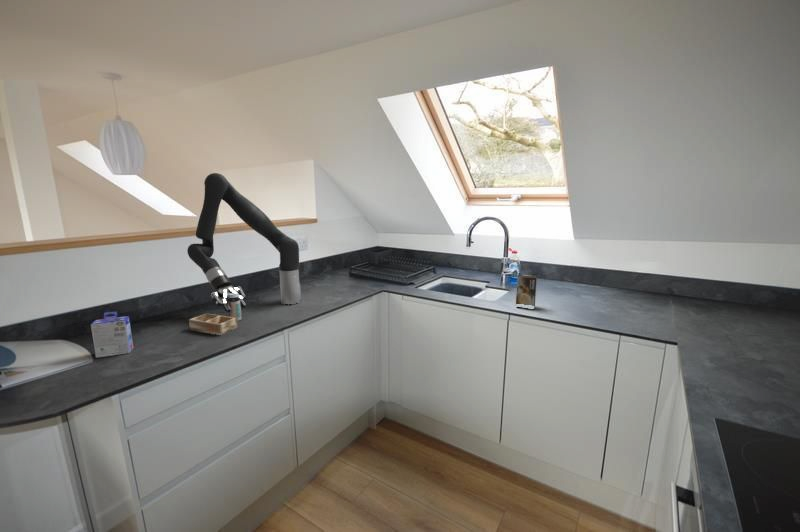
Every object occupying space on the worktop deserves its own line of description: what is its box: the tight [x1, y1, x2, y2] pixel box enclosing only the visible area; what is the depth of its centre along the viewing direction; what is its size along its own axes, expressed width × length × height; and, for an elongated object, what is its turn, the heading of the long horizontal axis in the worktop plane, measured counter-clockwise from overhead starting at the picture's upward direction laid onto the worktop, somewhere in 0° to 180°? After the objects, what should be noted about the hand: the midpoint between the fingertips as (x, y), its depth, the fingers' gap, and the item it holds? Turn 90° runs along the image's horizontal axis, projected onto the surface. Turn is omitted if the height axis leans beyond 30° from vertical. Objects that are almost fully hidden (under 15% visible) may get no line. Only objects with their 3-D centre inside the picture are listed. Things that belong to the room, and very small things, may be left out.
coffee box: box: [515, 273, 538, 307], centre depth 181 cm, size 9×6×16 cm
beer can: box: [227, 293, 243, 322], centre depth 160 cm, size 5×5×12 cm
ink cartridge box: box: [90, 310, 134, 358], centre depth 127 cm, size 10×6×14 cm, turn 115°
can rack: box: [188, 312, 238, 336], centre depth 150 cm, size 9×16×4 cm, turn 70°
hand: (237, 309), depth 160 cm, fingers open, 6 cm apart
